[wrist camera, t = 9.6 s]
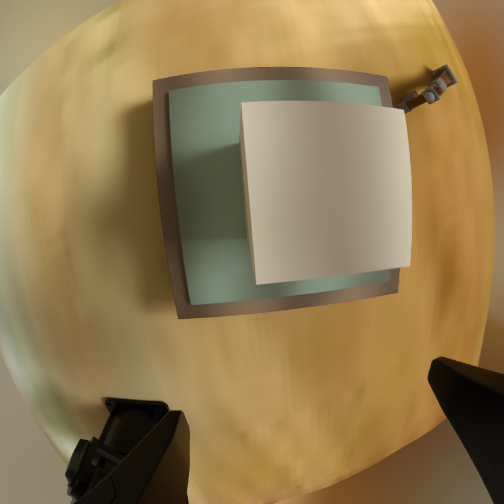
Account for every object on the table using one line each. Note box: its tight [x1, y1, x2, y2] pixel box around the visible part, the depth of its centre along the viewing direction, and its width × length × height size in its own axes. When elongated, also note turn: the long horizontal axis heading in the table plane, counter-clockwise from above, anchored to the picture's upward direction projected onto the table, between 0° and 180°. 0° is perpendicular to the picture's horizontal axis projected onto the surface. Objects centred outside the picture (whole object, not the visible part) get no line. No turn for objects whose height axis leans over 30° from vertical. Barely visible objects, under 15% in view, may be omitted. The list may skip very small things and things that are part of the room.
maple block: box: [239, 101, 412, 285], centre depth 11 cm, size 5×5×7 cm
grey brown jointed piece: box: [395, 64, 458, 114], centre depth 15 cm, size 2×8×4 cm, turn 129°
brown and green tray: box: [153, 67, 400, 319], centre depth 16 cm, size 14×14×3 cm
